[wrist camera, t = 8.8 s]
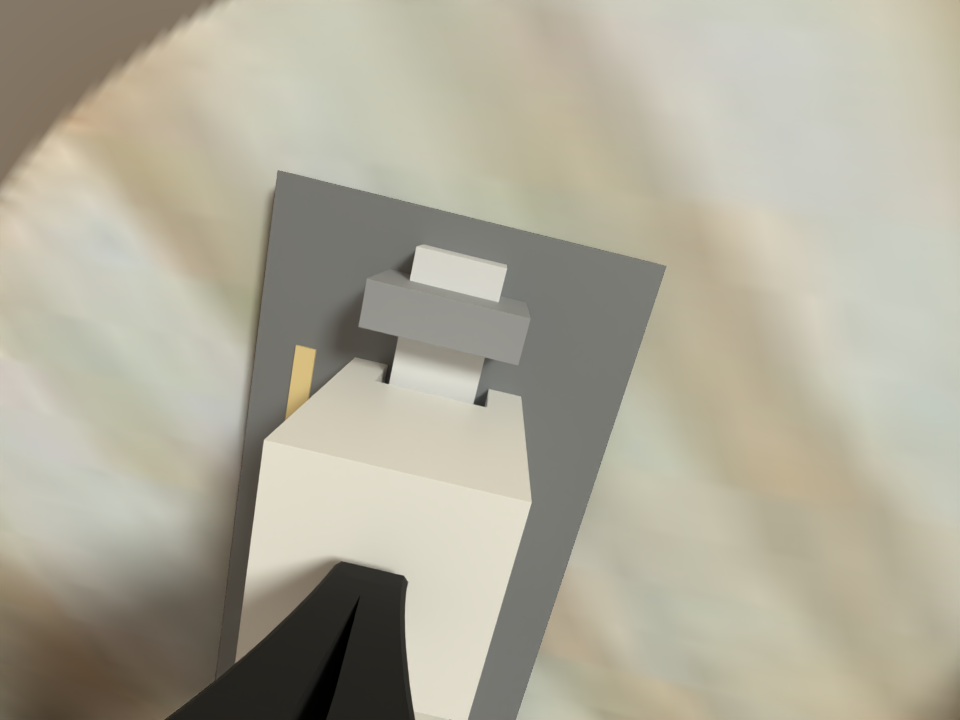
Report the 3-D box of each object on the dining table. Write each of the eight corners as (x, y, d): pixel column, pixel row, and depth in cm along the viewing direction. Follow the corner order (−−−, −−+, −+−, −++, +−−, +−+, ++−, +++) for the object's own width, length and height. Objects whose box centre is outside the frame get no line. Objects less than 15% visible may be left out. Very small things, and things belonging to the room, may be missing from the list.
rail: (482, 792, 21) (472, 1065, 14) (219, 733, 21) (81, 981, 14) (656, 263, 15) (780, 296, 8) (292, 173, 15) (116, 133, 8)
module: (479, 550, 17) (466, 723, 11) (323, 514, 17) (227, 669, 11) (520, 396, 15) (531, 502, 10) (350, 356, 15) (256, 437, 9)
